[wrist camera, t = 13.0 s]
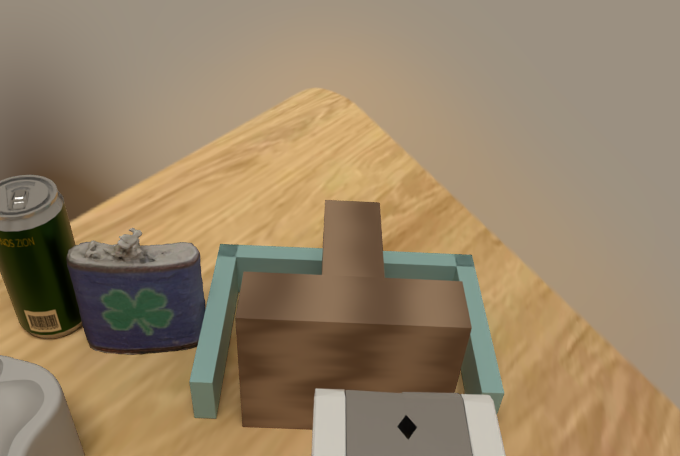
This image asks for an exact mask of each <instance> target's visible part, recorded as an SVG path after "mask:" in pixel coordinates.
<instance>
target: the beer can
mask: <svg viewBox="0 0 680 456" xmlns="http://www.w3.org/2000/svg"><path fill="white" fill-rule="evenodd" d="M74 246H75V241H74V237H73V234H72V230H71V226H70V222H69V219H68V215H67V211H66V207H65V204H64V200H63V196H62V195H61V194H60V193H59V192H58V191H57V187H56V185H55V184H54V183H53V181H51V180H50V179H47V178H45V177H43V176H37V175H20V176H15V177H10V178H7V179H4V180H1V181H0V272H1V275H2V278H3V280H4V283H5V286H6V288H7V291H8V294H9V296H10V299H11V302H12V304H13V307H14V310H15V312H16V315H17V317H18V320H19V323H20V324H21V326H22V327H23V328H24V329H25V330H26V331H28V332H29V333H31V334H33V335H34V336H36V337H40V338H45V339H50V338H58V337H62V336H66V335H68V334H70V333H72V332H74V331H75V330H77V329H78V328H79V327H80V326H82V321H81V316H80V310H79V306H78V303H77V300H76V295H75V291H74V288H73V284H72V280H71V277H70V273H69V269H68V267H67V260H66V257H67V254H68V251H69V249H71V248H72V247H74Z"/></svg>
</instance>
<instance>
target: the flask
mask: <svg viewBox="0 0 680 456" xmlns="http://www.w3.org/2000/svg"><path fill="white" fill-rule="evenodd" d="M129 231H131V232H133V235H127V234H124V235H123V236H119V238H120V240H119V241H118V244H117V245H116V244H115V245H108V244H105V243H99V242H96V241H91V242H84V243H80V244H79V245H75V246H74V247H72V248H71V249H69V251H68V254H67V257H66V260H67V267H68V269H69V273H70V277H71V280H72V284H73V288H74V291H75V295H76V300H77V303H78V306H79V310H80V316H81V321H82V326H83V328H84V331H85V334H86V337H87V340H88V343H89V346H90V348H92V349H94V350H95V351H100V352H105V353H116V354H117V353H118V354H122V353H123V354H133V355H134V354H144V353H148V352H150V353H151V352H152V353H156V352H168V351H175V350H176V351H178V350H186V349H187V350H188V349H190V348H192V347H197V346H198V342H199V337H200V333H201V328H202V324H203V319H204V315H205V299H204V293H203V282H202V277H201V266H200V253H199V251H198V249H197V248H196V247H195V246H194V245H193V244H192V243H186V242H180V243H174V244H164V245H150V246H140V245H139V239H138V238H139V237H140V236H141V235H142V232H141V231H140V230H135V229H134V228H131V229H129Z"/></svg>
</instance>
